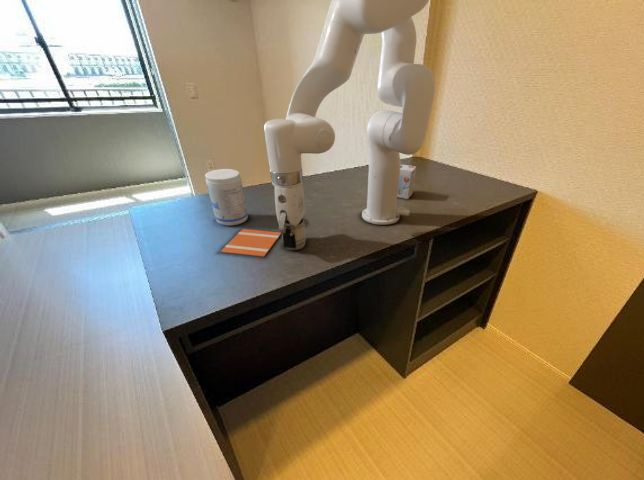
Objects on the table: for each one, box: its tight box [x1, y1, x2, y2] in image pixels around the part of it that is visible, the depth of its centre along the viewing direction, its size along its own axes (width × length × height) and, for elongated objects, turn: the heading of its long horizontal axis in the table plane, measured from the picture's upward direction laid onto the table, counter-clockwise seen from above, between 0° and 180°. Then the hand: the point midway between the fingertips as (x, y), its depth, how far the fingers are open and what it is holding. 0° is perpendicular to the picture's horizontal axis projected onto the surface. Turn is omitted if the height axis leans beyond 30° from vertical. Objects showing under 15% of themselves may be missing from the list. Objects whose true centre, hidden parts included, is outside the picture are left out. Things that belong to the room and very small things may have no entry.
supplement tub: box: [204, 168, 249, 227], centre depth 90 cm, size 10×10×15 cm
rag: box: [220, 228, 282, 258], centre depth 84 cm, size 12×13×1 cm
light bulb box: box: [397, 163, 417, 200], centre depth 114 cm, size 11×7×11 cm, turn 68°
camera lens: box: [281, 219, 307, 251], centre depth 81 cm, size 6×6×8 cm
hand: (294, 240), depth 83 cm, fingers closed on camera lens, 6 cm apart
